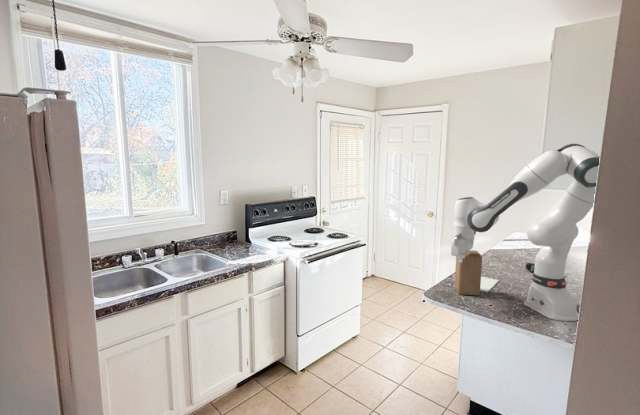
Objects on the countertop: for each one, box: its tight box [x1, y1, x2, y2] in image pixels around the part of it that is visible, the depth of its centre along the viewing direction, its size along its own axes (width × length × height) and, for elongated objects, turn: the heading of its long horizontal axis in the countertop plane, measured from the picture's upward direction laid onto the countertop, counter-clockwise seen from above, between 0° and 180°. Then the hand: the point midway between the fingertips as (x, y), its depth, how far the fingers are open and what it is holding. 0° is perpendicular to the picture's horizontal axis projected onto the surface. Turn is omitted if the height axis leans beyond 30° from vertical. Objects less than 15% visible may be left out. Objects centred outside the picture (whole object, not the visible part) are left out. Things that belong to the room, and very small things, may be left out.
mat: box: [480, 275, 500, 293], centre depth 179 cm, size 22×16×1 cm
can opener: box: [525, 262, 535, 274], centre depth 195 cm, size 18×7×6 cm, turn 51°
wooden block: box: [454, 249, 483, 296], centre depth 165 cm, size 10×10×20 cm
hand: (461, 261), depth 156 cm, fingers closed
